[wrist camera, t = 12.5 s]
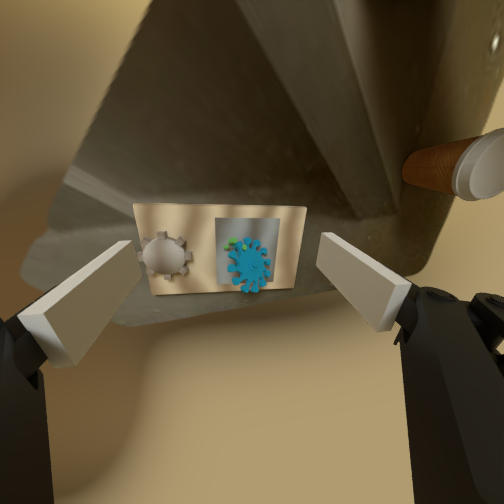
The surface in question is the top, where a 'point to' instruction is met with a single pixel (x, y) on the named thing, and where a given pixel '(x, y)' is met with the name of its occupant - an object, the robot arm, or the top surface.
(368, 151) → the top surface
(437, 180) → the disposable coffee cup
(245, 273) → the gear
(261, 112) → the top surface
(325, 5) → the top surface
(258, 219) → the carrier board
